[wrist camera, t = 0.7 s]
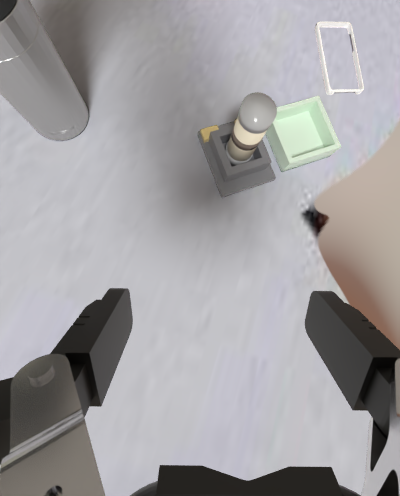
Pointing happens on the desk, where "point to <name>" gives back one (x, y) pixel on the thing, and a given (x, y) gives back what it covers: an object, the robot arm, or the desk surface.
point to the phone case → (322, 58)
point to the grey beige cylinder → (250, 127)
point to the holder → (238, 175)
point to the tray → (302, 134)
